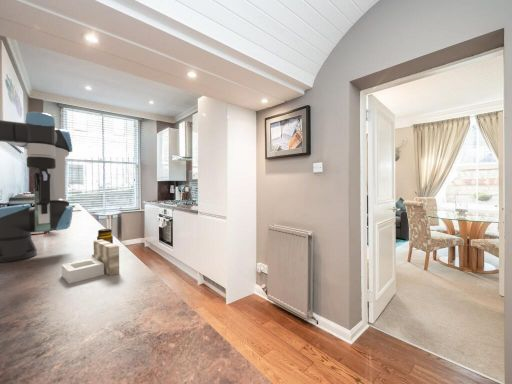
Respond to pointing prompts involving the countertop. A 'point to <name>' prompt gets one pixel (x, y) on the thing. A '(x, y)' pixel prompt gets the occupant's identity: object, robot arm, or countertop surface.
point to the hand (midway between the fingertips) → (42, 222)
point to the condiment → (105, 236)
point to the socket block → (82, 270)
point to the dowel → (37, 226)
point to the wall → (107, 256)
